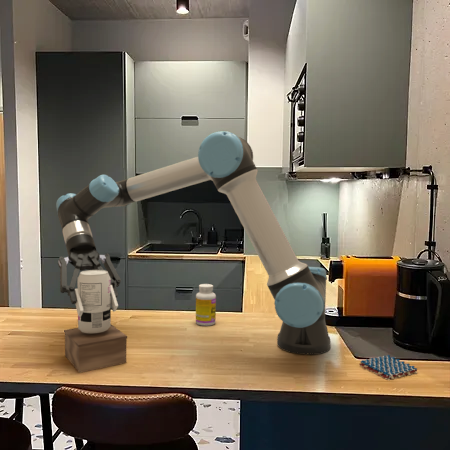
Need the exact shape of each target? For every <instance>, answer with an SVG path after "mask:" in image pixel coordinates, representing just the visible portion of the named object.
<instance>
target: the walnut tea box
mask: <svg viewBox="0 0 450 450" xmlns="http://www.w3.org/2000/svg"><path fill="white" fill-rule="evenodd" d="M63 333H64V356H65V358H66V359H67V360H68V361H69V363H71V364H72V366H73V367H74V368H75V370H76V371H77V372H79V373H85V372H88V371H93V370H98V369H103V368H108V367H112V366H118V365H121V364H126V363H127V340H128V336H127V334H125V333H124V332H123V331H121V330H119V328H117V327H116V326H114V325H113V324H111V326H110V327H109V328H108V330H106V331H104V332H100V333H84V332H81V330H79V329H78V327H75V328H74V327H73V328H69V329H64V330H63Z"/></svg>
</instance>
